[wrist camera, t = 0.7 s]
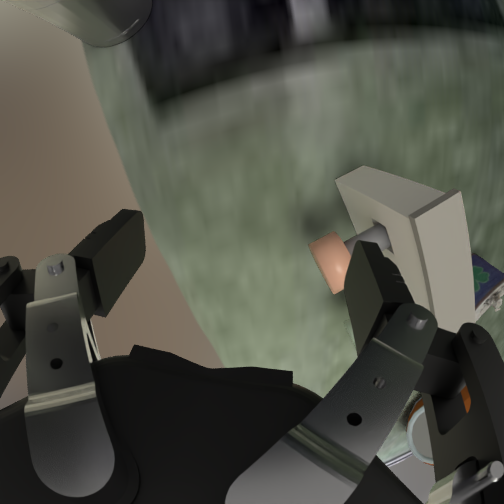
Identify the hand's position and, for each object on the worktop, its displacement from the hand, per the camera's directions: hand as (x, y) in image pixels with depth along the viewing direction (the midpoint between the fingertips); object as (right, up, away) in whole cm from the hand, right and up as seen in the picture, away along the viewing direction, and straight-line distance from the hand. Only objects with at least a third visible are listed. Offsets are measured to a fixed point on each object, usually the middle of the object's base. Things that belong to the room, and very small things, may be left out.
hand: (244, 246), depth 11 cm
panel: (+15, +2, +25) cm, 29 cm away
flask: (+32, -3, +29) cm, 43 cm away
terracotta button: (+10, +1, +18) cm, 20 cm away
